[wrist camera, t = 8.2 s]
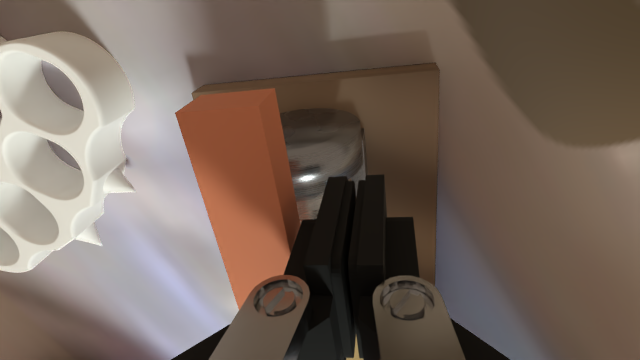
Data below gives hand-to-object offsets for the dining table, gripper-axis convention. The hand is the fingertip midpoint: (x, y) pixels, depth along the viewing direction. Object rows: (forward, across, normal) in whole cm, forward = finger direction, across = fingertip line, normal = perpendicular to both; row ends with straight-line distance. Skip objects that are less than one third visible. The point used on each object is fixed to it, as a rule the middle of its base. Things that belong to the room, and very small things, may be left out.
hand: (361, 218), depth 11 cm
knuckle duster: (+10, +22, 0) cm, 24 cm away
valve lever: (0, +3, +3) cm, 4 cm away
